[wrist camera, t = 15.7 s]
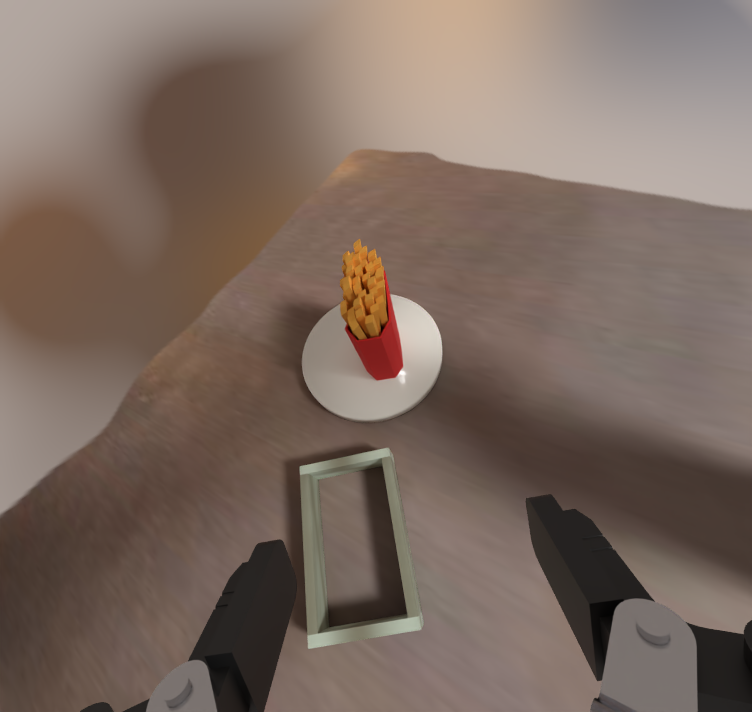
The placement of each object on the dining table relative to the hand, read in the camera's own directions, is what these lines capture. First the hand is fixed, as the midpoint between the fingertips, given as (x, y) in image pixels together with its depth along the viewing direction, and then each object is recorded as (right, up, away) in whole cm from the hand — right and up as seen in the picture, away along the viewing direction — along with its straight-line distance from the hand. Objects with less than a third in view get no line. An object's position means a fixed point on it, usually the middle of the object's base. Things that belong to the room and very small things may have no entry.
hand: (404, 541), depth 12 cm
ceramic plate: (-1, +6, +30) cm, 31 cm away
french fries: (0, +6, +28) cm, 29 cm away
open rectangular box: (-2, -11, +21) cm, 24 cm away
